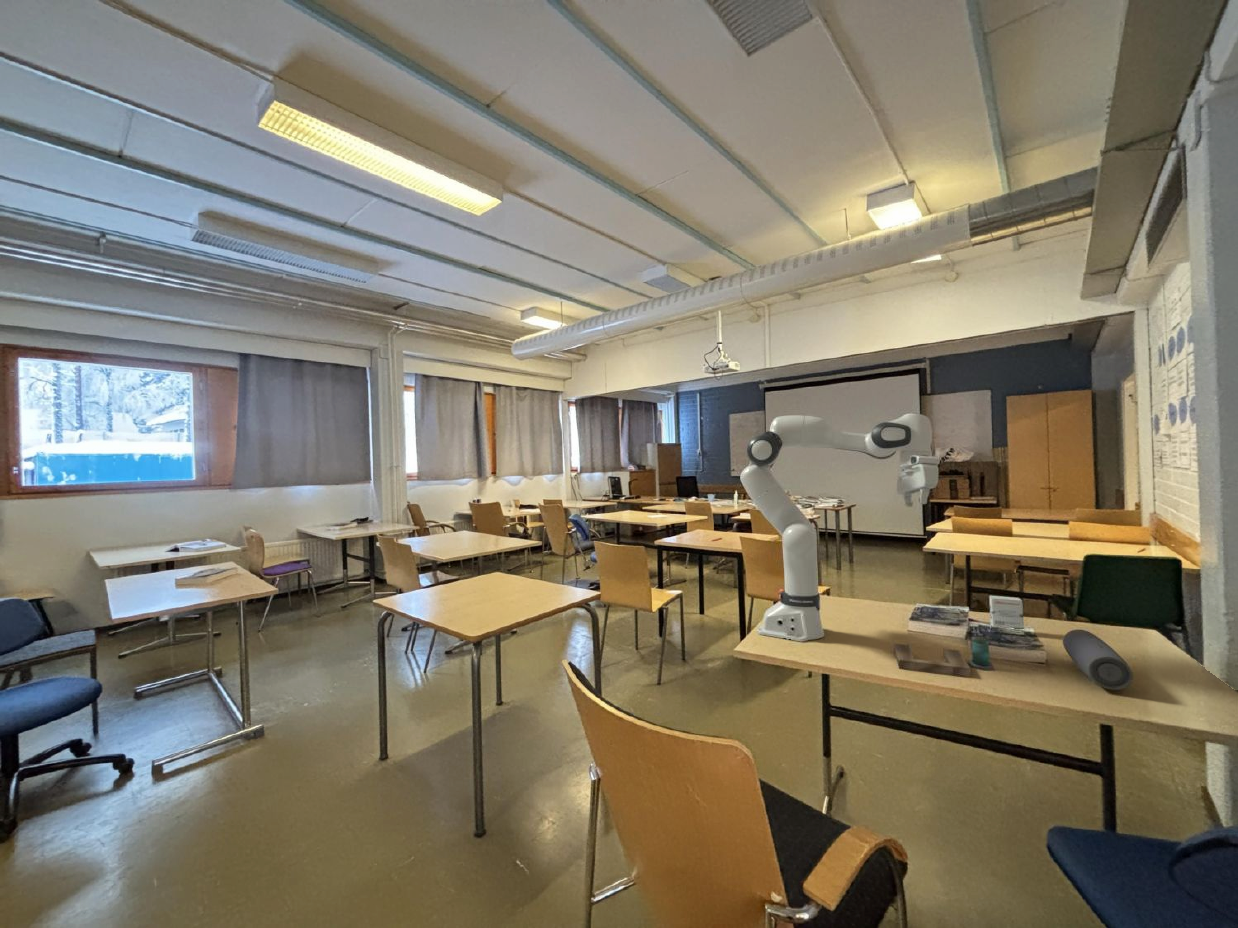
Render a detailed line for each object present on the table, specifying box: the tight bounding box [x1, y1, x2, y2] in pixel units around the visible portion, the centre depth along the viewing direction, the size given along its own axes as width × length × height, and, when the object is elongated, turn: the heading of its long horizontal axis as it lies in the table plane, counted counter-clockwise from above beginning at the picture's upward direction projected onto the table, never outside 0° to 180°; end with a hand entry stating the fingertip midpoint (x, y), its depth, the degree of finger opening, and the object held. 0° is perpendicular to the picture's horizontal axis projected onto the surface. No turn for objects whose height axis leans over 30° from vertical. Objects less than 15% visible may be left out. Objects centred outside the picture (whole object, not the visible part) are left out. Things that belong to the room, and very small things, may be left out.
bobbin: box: [967, 635, 995, 671], centre depth 142 cm, size 6×6×8 cm
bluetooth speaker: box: [1062, 629, 1134, 691], centre depth 133 cm, size 23×9×10 cm, turn 151°
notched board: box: [893, 643, 971, 678], centre depth 145 cm, size 17×14×2 cm
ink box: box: [989, 595, 1025, 630], centre depth 169 cm, size 9×5×12 cm, turn 61°
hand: (915, 505), depth 158 cm, fingers open, 8 cm apart
